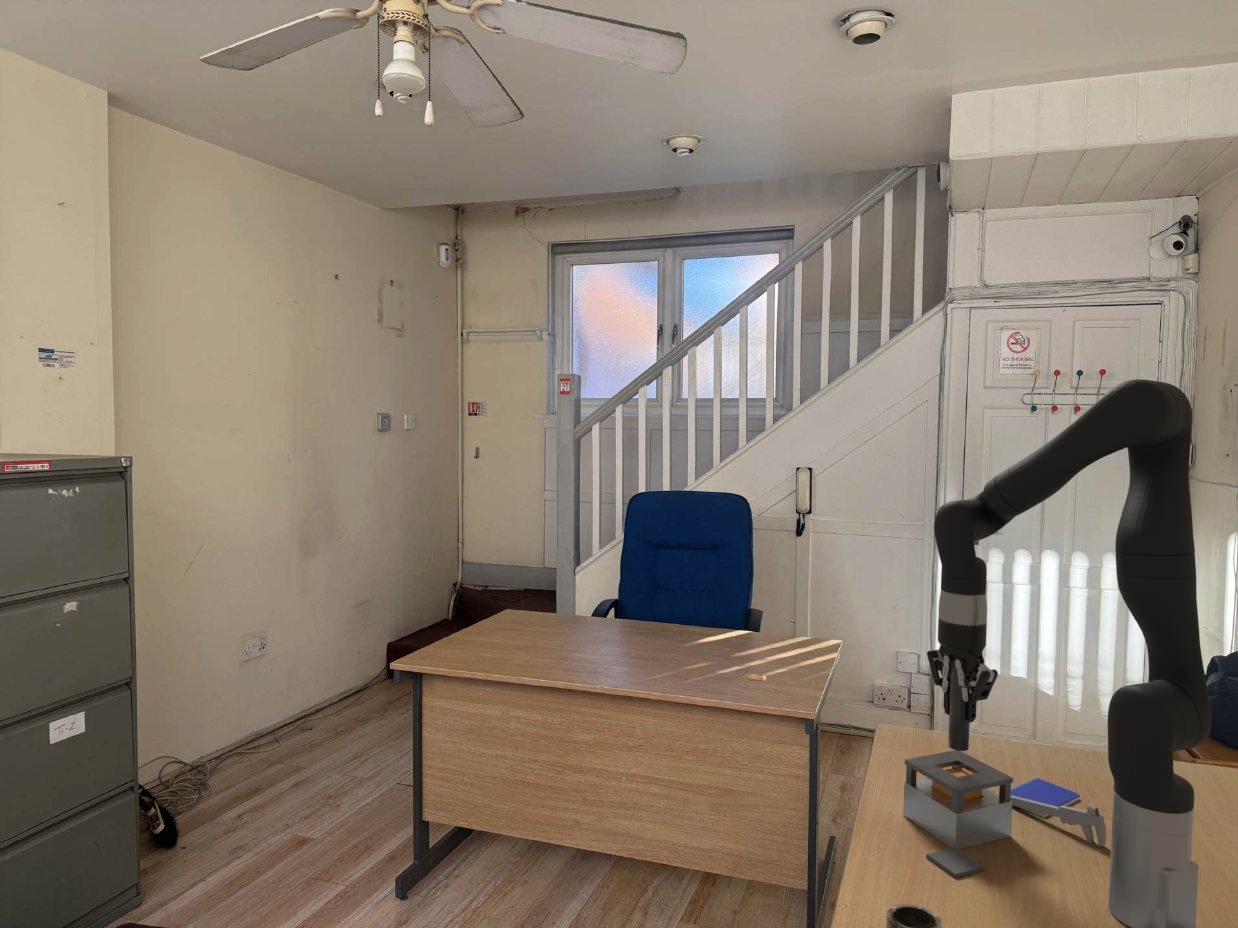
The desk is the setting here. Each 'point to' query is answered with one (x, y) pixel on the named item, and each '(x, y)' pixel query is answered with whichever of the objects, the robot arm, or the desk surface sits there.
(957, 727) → the handle
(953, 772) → the button
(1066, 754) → the desk surface
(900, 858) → the desk surface
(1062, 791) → the hard drive
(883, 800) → the desk surface
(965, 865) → the pad
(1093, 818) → the caliper
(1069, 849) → the desk surface
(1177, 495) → the robot arm
